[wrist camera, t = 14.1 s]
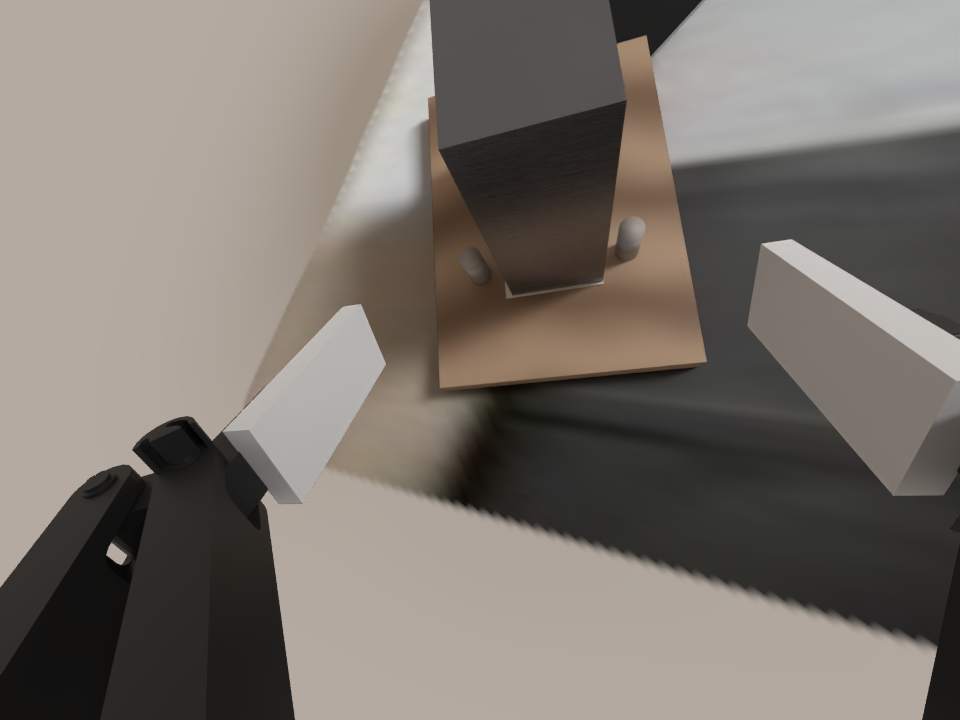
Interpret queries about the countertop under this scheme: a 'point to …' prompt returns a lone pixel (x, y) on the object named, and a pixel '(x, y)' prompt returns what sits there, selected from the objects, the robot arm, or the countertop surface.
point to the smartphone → (650, 19)
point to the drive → (532, 130)
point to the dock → (582, 308)
